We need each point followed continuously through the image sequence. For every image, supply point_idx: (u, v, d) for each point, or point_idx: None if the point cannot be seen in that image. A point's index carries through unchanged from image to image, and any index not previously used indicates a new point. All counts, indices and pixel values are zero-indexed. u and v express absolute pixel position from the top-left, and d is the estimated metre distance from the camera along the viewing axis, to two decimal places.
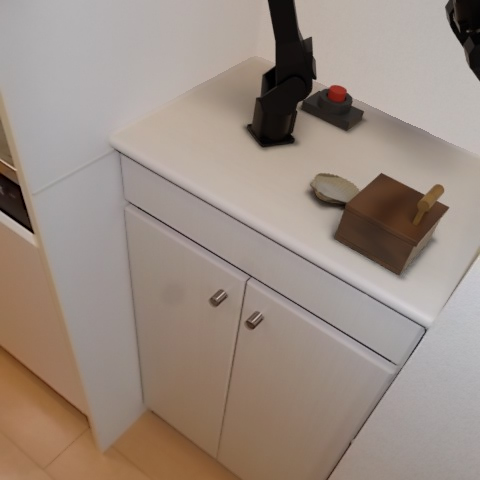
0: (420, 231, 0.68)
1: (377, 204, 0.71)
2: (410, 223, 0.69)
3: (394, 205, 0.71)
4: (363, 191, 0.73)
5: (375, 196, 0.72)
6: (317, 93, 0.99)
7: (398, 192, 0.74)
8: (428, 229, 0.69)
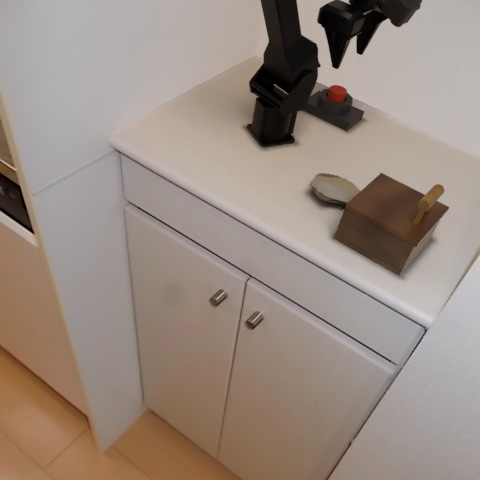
0: (420, 231, 0.68)
1: (377, 204, 0.71)
2: (410, 223, 0.69)
3: (394, 205, 0.71)
4: (363, 191, 0.73)
5: (375, 196, 0.72)
6: (317, 93, 0.99)
7: (398, 192, 0.74)
8: (428, 229, 0.69)
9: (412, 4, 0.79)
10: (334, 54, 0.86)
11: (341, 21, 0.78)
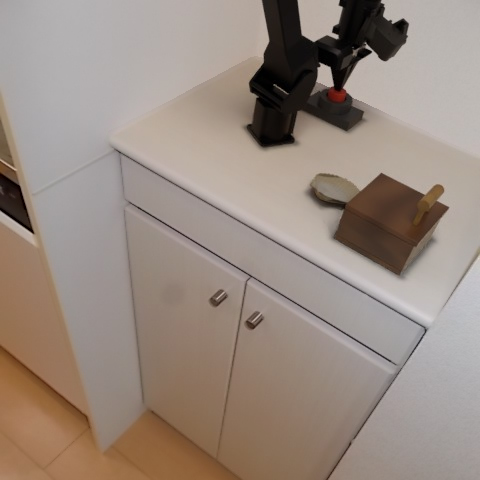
0: (420, 231, 0.68)
1: (377, 204, 0.71)
2: (410, 223, 0.69)
3: (394, 205, 0.71)
4: (363, 191, 0.73)
5: (375, 196, 0.72)
6: (317, 93, 0.99)
7: (398, 192, 0.74)
8: (428, 229, 0.69)
9: (398, 40, 0.83)
10: (336, 78, 0.92)
11: (331, 57, 0.82)
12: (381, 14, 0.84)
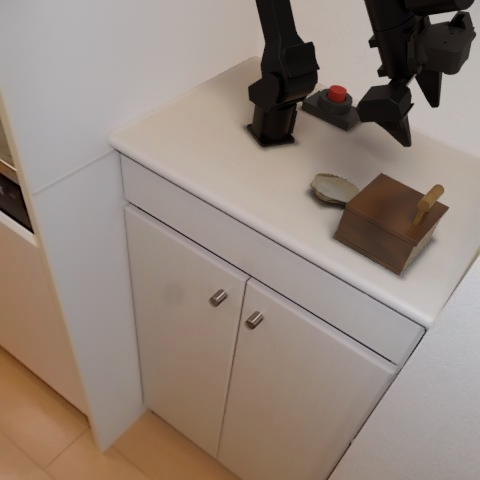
0: (420, 231, 0.68)
1: (377, 204, 0.71)
2: (410, 223, 0.69)
3: (394, 205, 0.71)
4: (363, 191, 0.73)
5: (375, 196, 0.72)
6: (317, 93, 0.99)
7: (398, 192, 0.74)
8: (428, 229, 0.69)
9: (461, 42, 0.63)
10: (398, 136, 0.73)
11: (383, 110, 0.66)
12: (427, 24, 0.66)
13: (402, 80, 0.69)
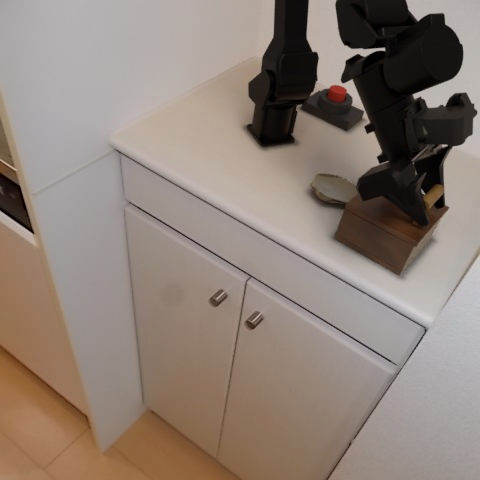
0: (420, 231, 0.68)
1: (377, 204, 0.71)
2: (410, 223, 0.69)
3: (394, 205, 0.71)
4: None
5: None
6: (317, 93, 0.99)
7: None
8: (428, 229, 0.69)
9: (461, 113, 0.60)
10: (413, 213, 0.67)
11: (385, 181, 0.60)
12: (424, 107, 0.64)
13: None
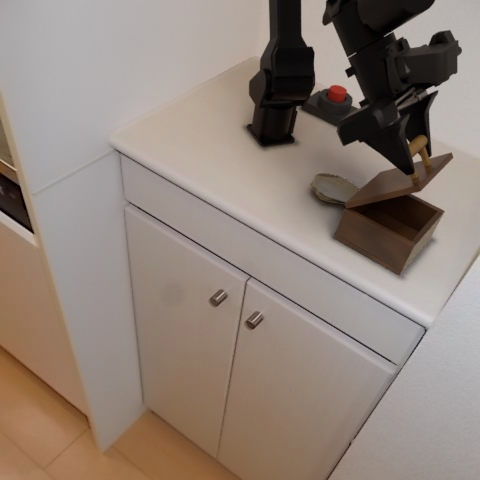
0: (420, 178, 0.64)
1: (375, 188, 0.70)
2: (409, 180, 0.66)
3: (392, 180, 0.69)
4: (361, 189, 0.73)
5: (373, 185, 0.71)
6: (317, 93, 0.99)
7: (396, 172, 0.72)
8: (429, 173, 0.65)
9: (444, 48, 0.57)
10: (398, 160, 0.64)
11: (366, 121, 0.57)
12: (406, 47, 0.61)
13: None
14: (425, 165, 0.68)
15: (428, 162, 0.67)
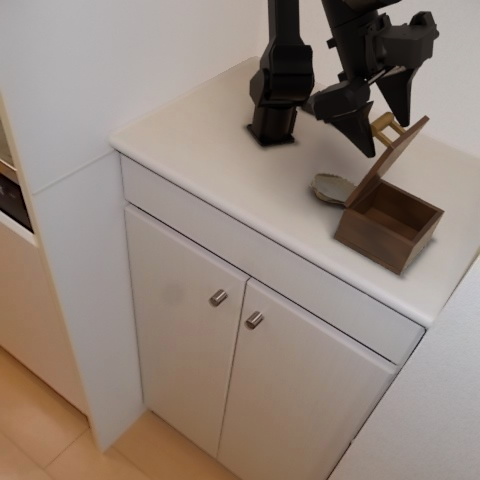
0: None
1: None
2: None
3: None
4: None
5: None
6: (317, 93, 0.99)
7: None
8: (401, 135, 0.64)
9: (421, 33, 0.59)
10: (360, 143, 0.66)
11: (338, 101, 0.60)
12: (387, 24, 0.62)
13: None
14: None
15: (404, 131, 0.67)
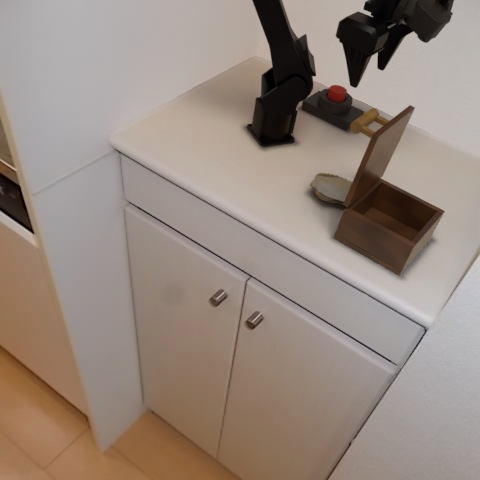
0: None
1: None
2: None
3: None
4: None
5: None
6: (317, 93, 0.99)
7: None
8: None
9: (442, 17, 0.71)
10: (353, 72, 0.78)
11: (364, 36, 0.70)
12: None
13: None
14: None
15: None
